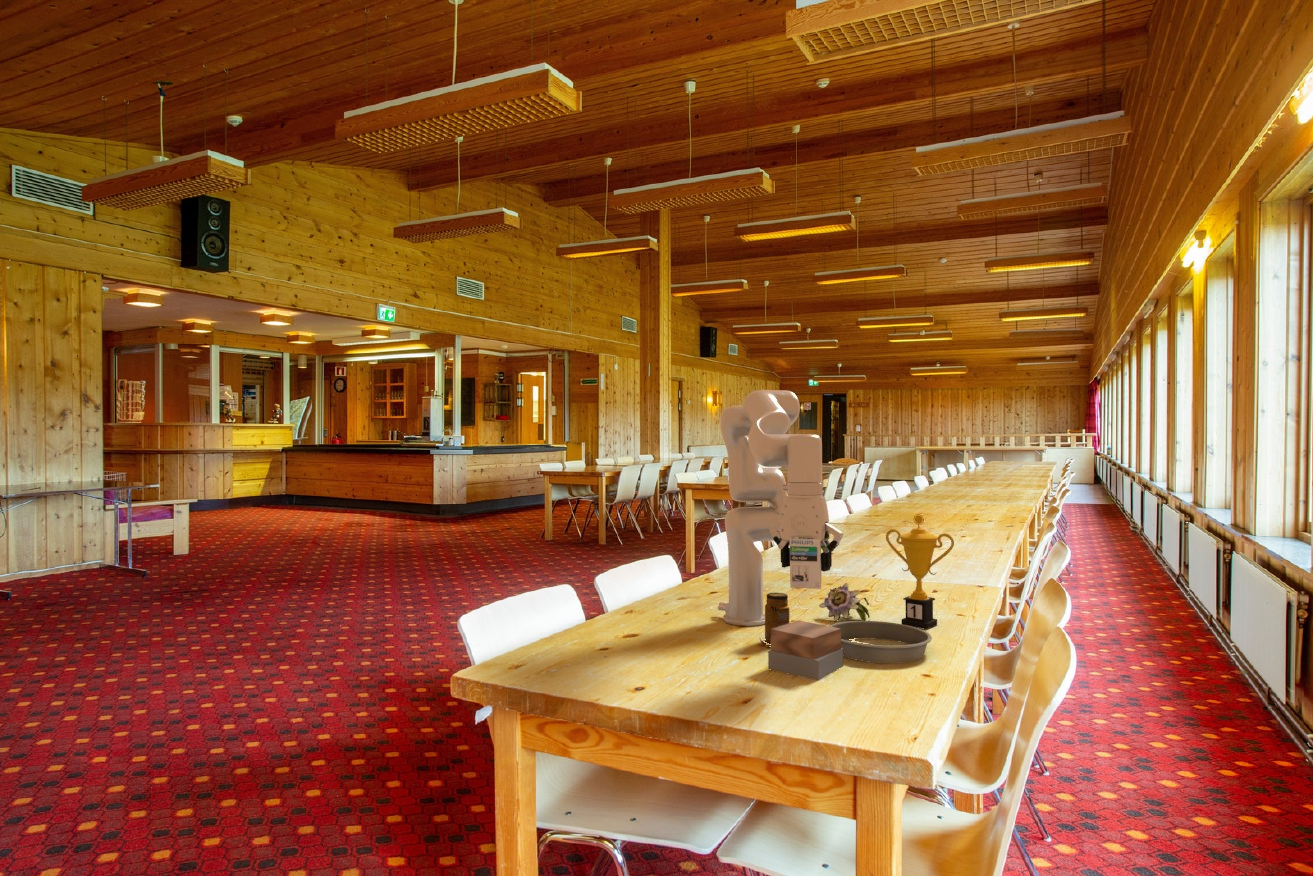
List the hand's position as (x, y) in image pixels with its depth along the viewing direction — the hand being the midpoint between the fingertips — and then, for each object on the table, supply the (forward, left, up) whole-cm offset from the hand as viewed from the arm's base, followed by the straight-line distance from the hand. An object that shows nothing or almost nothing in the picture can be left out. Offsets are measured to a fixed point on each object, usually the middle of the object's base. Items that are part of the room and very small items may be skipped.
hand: (805, 568), depth 164 cm
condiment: (-15, +15, -22) cm, 31 cm away
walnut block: (0, +1, -18) cm, 18 cm away
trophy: (+7, +54, -22) cm, 59 cm away
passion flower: (-12, +49, -22) cm, 55 cm away
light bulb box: (0, 0, -4) cm, 4 cm away
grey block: (0, +1, -22) cm, 22 cm away
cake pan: (+7, +24, -22) cm, 33 cm away
